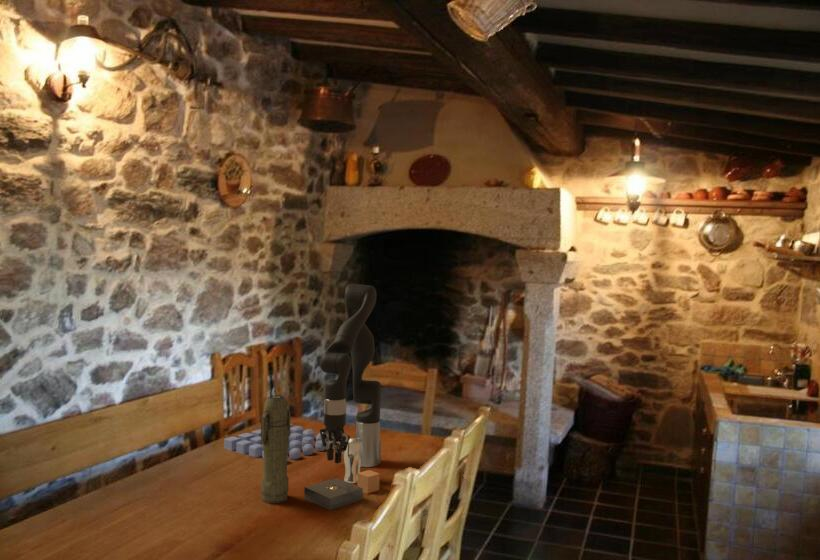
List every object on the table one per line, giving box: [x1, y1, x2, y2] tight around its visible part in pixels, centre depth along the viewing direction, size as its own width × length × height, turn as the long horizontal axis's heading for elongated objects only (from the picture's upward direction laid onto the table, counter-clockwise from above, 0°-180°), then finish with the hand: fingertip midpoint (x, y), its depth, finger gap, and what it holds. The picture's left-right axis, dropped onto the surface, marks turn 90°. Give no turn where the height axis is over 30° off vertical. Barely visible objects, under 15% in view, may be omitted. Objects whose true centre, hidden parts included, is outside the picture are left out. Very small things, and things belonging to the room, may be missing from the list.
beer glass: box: [342, 437, 363, 484], centre depth 257 cm, size 7×7×15 cm
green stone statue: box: [260, 394, 291, 504], centre depth 236 cm, size 9×12×35 cm
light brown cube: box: [356, 469, 381, 494], centre depth 248 cm, size 6×6×6 cm
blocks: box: [223, 423, 338, 462], centre depth 296 cm, size 35×34×5 cm
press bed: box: [303, 477, 364, 511], centre depth 238 cm, size 14×14×4 cm
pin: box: [329, 486, 338, 490], centre depth 238 cm, size 3×3×4 cm
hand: (334, 461), depth 237 cm, fingers open, 3 cm apart
